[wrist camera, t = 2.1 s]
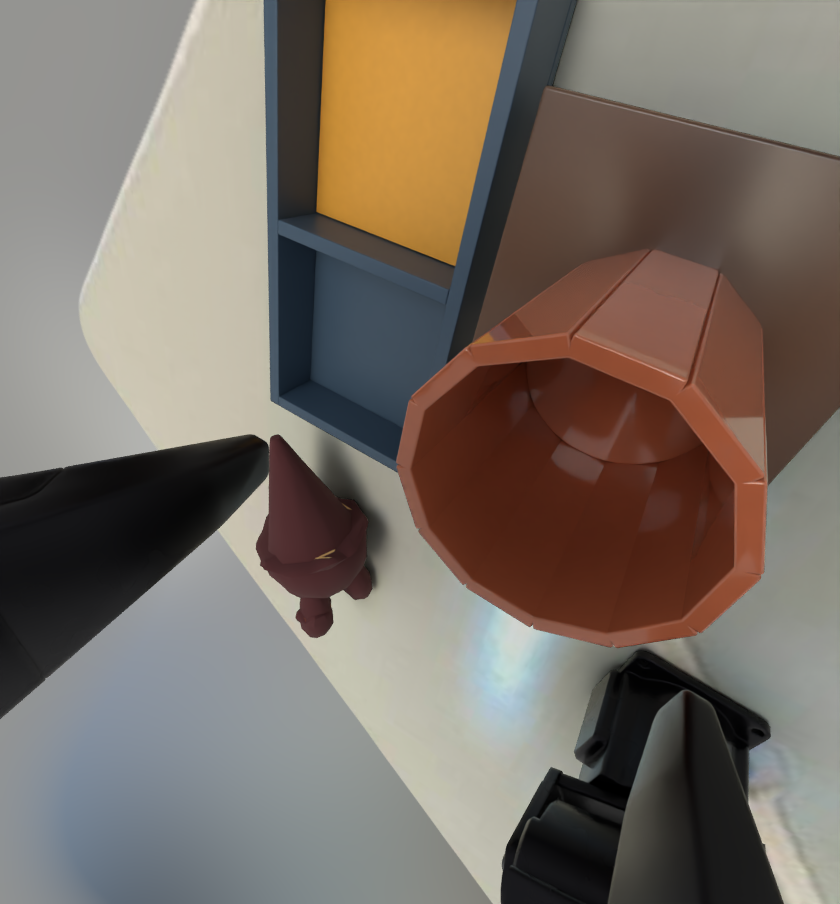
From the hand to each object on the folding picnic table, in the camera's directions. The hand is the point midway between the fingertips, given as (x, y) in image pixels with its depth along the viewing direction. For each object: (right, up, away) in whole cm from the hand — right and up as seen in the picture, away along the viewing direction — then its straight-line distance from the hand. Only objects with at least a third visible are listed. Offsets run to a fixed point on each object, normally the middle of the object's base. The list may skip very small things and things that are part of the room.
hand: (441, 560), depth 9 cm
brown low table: (+8, +6, +8) cm, 13 cm away
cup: (+6, +5, +5) cm, 9 cm away
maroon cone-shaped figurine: (-5, -2, +23) cm, 24 cm away
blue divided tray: (-1, +11, +11) cm, 16 cm away
